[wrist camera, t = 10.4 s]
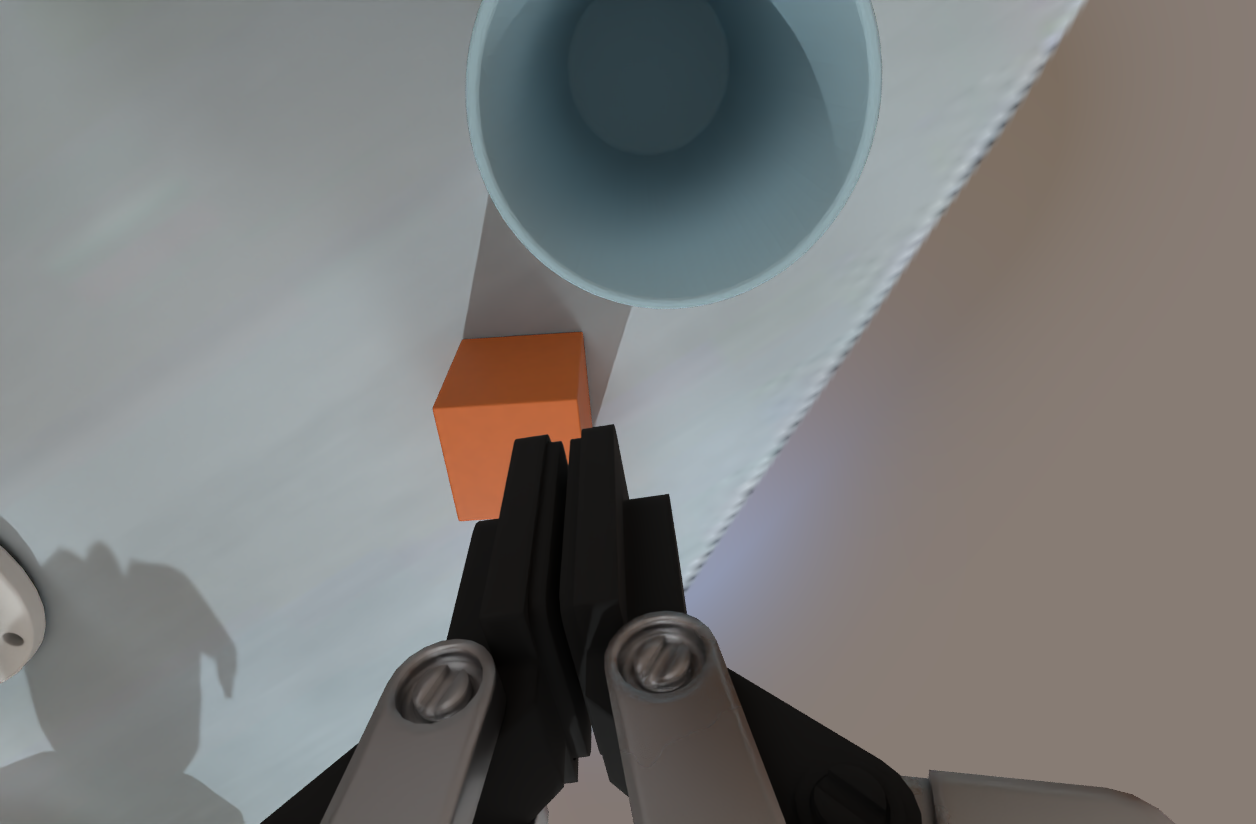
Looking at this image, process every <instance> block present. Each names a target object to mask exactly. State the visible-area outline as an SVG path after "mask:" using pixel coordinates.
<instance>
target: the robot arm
mask: <svg viewBox="0 0 1256 824" xmlns="http://www.w3.org/2000/svg"><path fill="white" fill-rule="evenodd" d="M45 628H46V620H45V612H44V607H43V604H42V602H41V599H40V597H39V594H38V592H37V589H36V587H35V586H34V584H33V583H32V581H31V580H30V578H29V577H28V575H27V574H26V572H25V571H24V569H23V568H22V567H21V566H20V565H19V564H18V563H17V562H16V561H15V559H14V558H13V557H12V556H11V555H10V554H9V553H8V552H7V551H6V550H5V549H4V548H3V547H2V546H0V683H3V682H4V681H6V680H7V679H9V678H11V677H12V676H14V675H15V674H17V673H18V672H19V671H20V670H21V669H22V667H23V666H24V665H25V664H26V663H27V662H28V661H29V660H30V659H31V658H32V657H33V655H34V654H35V653H36V651H37V650H38V648H39V646H40V645H41V643H42V641H43V638H44V633H45ZM591 725H592V728H593V732H594V735H595V739H596V742H597V745H598V749H599V752H600V754H601V755H602V756H603V759H604V763H605V766H606V770H607V773H608V777H609V780H610V782H611V783H612V784H614V785H615V786H616V787H617V788H618V789H619V790H621V791H622V792H623V793H624V794H625V795H627V796H628V797H629V801H630V806H631V811H632V817H633V822H634V824H1175V823H1174V822H1173V821H1172V820H1170V819H1169V818H1168V817H1167V816H1166V815H1165V814H1164V813H1163V812H1162V811H1160V810H1159V809H1158V808H1156V807H1154V806H1152V805H1151V804H1149V803H1147V802H1145V801H1143V800H1141V799H1140V798H1138V797H1136V796H1134V795H1132V794H1128V793H1124V792H1120V791H1117V790H1113V789H1109V788H1103V787H1093V786H1084V785H1073V784H1064V783H1053V782H1044V781H1034V780H1024V779H1014V778H1004V777H994V776H984V775H974V774H964V773H954V772H945V771H934V770H929V778H928V779H927V778H917V777H908V776H900V775H899V774H898V773H897V772H896V771H894V770H893V769H892V768H890V767H889V766H888V765H887V764H885V763H884V762H883V761H882V760H880V759H878V758H877V757H875V756H873V755H872V754H870V753H868V752H867V751H865V750H863V749H862V748H860V747H858V746H857V745H855V744H853V743H852V742H850V741H848V740H847V739H845V738H843V737H842V736H840V735H838V734H837V733H835V732H833V731H832V730H830V729H828V728H827V727H825V726H823V725H822V724H820V723H818V722H817V721H815V720H813V719H812V718H810V717H808V716H807V715H805V714H803V713H802V712H800V711H798V710H797V709H795V708H793V707H792V706H790V705H789V704H787V703H785V702H784V701H782V700H780V699H779V698H777V697H775V696H774V695H772V694H770V693H769V692H767V691H765V690H763V689H762V688H760V687H759V686H757V685H755V684H754V683H752V682H750V681H749V680H747V679H745V678H744V677H742V676H740V675H738V674H737V673H735V672H734V671H732V670H730V669H729V668H727V667H726V664H725V662H724V659H723V656H722V654H721V651H720V649H719V646H718V643H717V641H716V639H715V637H714V636H713V634H712V632H711V631H710V629H709V628H708V627H707V626H706V625H705V624H703V623H702V622H701V621H700V620H698V619H697V618H695V617H692V616H689V615H687V611H686V604H685V597H684V590H683V583H682V576H681V569H680V562H679V555H678V548H677V542H676V535H675V529H674V522H673V516H672V509H671V503H670V497H669V494H665V495H658V496H651V497H644V498H637V499H630V500H629V496H628V491H627V486H626V481H625V475H624V470H623V465H622V460H621V455H620V450H619V444H618V439H617V434H616V430H615V426H614V424H612V425H606V426H599V427H592V428H586V429H582V431H581V438H576V439H571V440H570V450H569V464H568V462H567V458H566V454H565V450H564V446H563V443H562V441H556V442H551V439H550V437H549V435H548V434H546V435H539V436H532V437H526V438H519V439H515V441H514V445H513V450H512V455H511V460H510V465H509V470H508V475H507V480H506V485H505V490H504V495H503V500H502V505H501V510H500V515H499V518H498V519H491V520H484V521H479V522H477V523H476V525H475V527H474V530H473V534H472V538H471V542H470V546H469V550H468V554H467V558H466V562H465V566H464V571H463V575H462V579H461V583H460V587H459V591H458V595H457V599H456V603H455V608H454V612H453V616H452V620H451V624H450V628H449V632H448V636H447V640H445V641H440V642H437V643H435V644H432V645H430V646H427V647H424V648H423V649H421V650H420V651H418V652H417V653H415V654H413V655H412V656H410V657H409V658H408V659H407V660H406V661H405V662H404V663H403V664H402V665H401V666H400V667H399V668H397V669H396V671H395V672H394V674H393V675H392V677H391V679H390V680H389V682H388V683H387V685H386V687H385V689H384V691H383V693H382V695H381V697H380V700H379V702H378V704H377V706H376V708H375V710H374V712H373V714H372V716H371V718H370V720H369V723H368V725H367V727H366V729H365V731H364V733H363V735H362V737H361V739H360V741H359V743H358V744H357V745H355V746H354V747H353V748H352V749H351V750H349V751H348V752H347V753H346V754H344V755H343V756H342V757H341V758H340V759H338V760H337V761H336V762H335V763H333V764H332V765H331V766H330V767H329V768H327V769H326V770H325V771H324V772H322V773H321V774H320V775H319V776H318V777H316V778H315V779H314V780H313V781H311V782H310V783H309V784H308V785H307V786H305V787H304V788H303V789H302V790H301V791H299V792H298V793H297V794H296V795H294V796H293V797H292V798H291V799H290V800H288V801H287V802H286V803H285V804H283V805H282V806H281V807H280V808H279V809H277V810H276V811H275V812H274V813H272V814H271V815H270V816H269V817H268V818H266V819H265V820H264V821H263V822H261V823H260V824H548V813H549V811H548V808H547V804H548V803H549V802H550V801H551V800H552V799H553V798H554V797H555V796H556V795H557V794H558V793H559V792H560V790H561V789H562V788H563V787H564V784H565V783H573V782H578V758H579V757H587V756H590V753H591Z"/></svg>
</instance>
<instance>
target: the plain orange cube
mask: <svg viewBox="0 0 1256 824" xmlns="http://www.w3.org/2000/svg"><path fill="white" fill-rule="evenodd" d="M433 413H434V417H435V421H436V426H437V430H438V434H439V439H440V443H441V447H442V451H443V456H444V460H445V464H446V468H447V473H448V477H449V481H450V486H451V490H452V494H453V498H454V503H455V507H456V511H457V515H458V519H459V521H469V520H485V519H498V518H499V515H500V510H501V505H502V500H503V495H504V490H505V485H506V480H507V475H508V470H509V465H510V460H511V455H512V450H513V445H514V441H515V439H519V438H526V437H532V436H539V435H546V434H548V435H549V437H550V439H551V442H556V441H562V443H563V446H564V450H565V454H566V458H567V462H568V464H569V450H570V440H571V439H576V438H581V431H582V429H586V428H592V418H591V408H590V398H589V388H588V378H587V368H586V358H585V348H584V338H583V333H582V332H571V333H555V334H539V335H524V336H508V337H493V338H477V339H463V340H462V341H461V343H460V346H459V348H458V350H457V353H456V355H455V357H454V360H453V362H452V364H451V366H450V369H449V371H448V373H447V376H446V378H445V380H444V383H443V385H442V387H441V390H440V392H439V394H438V397H437V399H436V401H435V404H434V406H433Z"/></svg>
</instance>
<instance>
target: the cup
mask: <svg viewBox="0 0 1256 824" xmlns="http://www.w3.org/2000/svg"><path fill="white" fill-rule="evenodd" d="M881 90H882V59H881V47H880V39H879V32H878V27H877V22H876V17H875V13H874V10H873V7H872V3H871V0H482V3H481V5H480V8H479V11H478V14H477V17H476V20H475V24H474V27H473V32H472V37H471V41H470V46H469V52H468V59H467V70H466V111H467V122H468V128H469V133H470V139H471V144H472V148H473V151H474V155H475V159H476V162H477V165H478V168H479V171H480V173H481V176H482V179H483V181H484V183H485V186H486V188H487V190H488V192H489V195H490V197H491V199H492V201H493V203H494V204H495V206H496V208H497V210H498V211H499V213H500V215H501V216H502V218H503V219H504V221H505V222H506V224H507V225H508V226H509V228H510V229H511V230H512V232H513V233H514V234H515V235H516V237H517V238H518V239H519V240H520V241H521V242H522V244H523V245H524V246H525V247H526V248H527V249H528V250H529V251H530V252H531V253H532V254H533V255H534V256H535V257H536V258H537V259H539V260H540V261H541V262H542V263H543V264H544V265H545V266H547V267H548V268H549V269H550V270H552V271H553V272H555V273H556V274H557V275H559V276H560V277H562V278H563V279H565V280H566V281H568V282H570V283H572V284H573V285H575V286H577V287H579V288H581V289H583V290H585V291H587V292H589V293H592V294H594V295H596V296H599V297H602V298H605V299H608V300H611V301H614V302H618V303H622V304H626V305H630V306H636V307H644V308H654V309H677V308H689V307H696V306H702V305H708V304H712V303H715V302H719V301H722V300H725V299H729V298H732V297H735V296H737V295H740V294H742V293H744V292H747V291H749V290H751V289H753V288H755V287H757V286H759V285H761V284H762V283H764V282H766V281H768V280H770V279H772V278H773V277H775V276H776V275H778V274H779V273H781V272H782V271H784V270H785V269H787V268H788V267H789V266H790V265H792V264H793V263H794V262H795V261H797V260H798V259H799V258H800V257H801V256H802V255H804V254H805V253H806V252H807V251H808V250H809V249H810V248H811V247H812V246H813V244H814V243H815V242H816V241H817V240H818V239H819V238H820V237H821V236H822V235H823V234H824V233H825V231H826V230H827V229H828V228H829V226H830V225H831V224H832V223H833V221H834V220H835V218H836V217H837V216H838V214H839V213H840V211H841V210H842V208H843V207H844V205H845V204H846V202H847V200H848V198H849V197H850V195H851V193H852V191H853V190H854V187H855V185H856V183H857V181H858V179H859V177H860V175H861V173H862V170H863V168H864V166H865V163H866V160H867V157H868V155H869V152H870V149H871V146H872V142H873V138H874V134H875V130H876V125H877V121H878V116H879V109H880V102H881Z"/></svg>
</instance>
